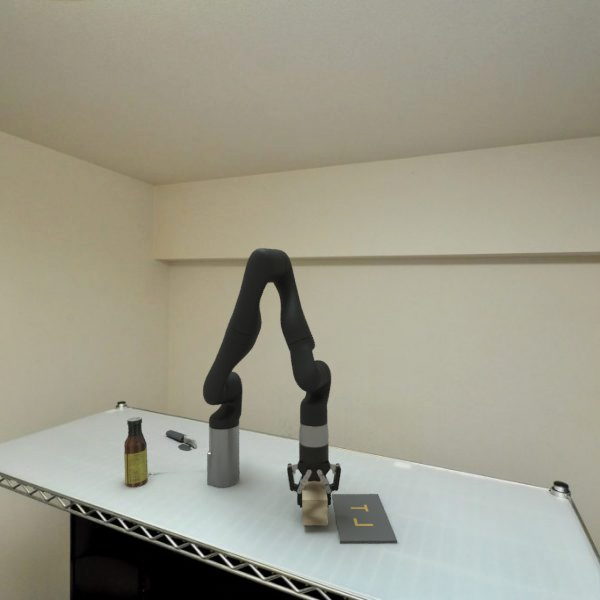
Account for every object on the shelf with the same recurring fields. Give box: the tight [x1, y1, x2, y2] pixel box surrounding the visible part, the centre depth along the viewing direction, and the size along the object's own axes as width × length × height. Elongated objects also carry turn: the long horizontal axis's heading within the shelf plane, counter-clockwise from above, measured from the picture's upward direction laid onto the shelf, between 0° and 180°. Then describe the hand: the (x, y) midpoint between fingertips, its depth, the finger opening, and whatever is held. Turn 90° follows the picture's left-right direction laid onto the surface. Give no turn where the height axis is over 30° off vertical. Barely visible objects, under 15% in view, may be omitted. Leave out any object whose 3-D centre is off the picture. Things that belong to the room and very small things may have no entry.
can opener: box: [165, 429, 198, 452], centre depth 137 cm, size 19×6×5 cm, turn 48°
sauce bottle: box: [123, 416, 149, 488], centre depth 109 cm, size 7×6×20 cm
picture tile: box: [331, 493, 398, 545], centre depth 92 cm, size 13×20×1 cm, turn 0°
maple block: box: [301, 481, 329, 526], centre depth 92 cm, size 6×12×6 cm, turn 0°
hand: (314, 505), depth 92 cm, fingers closed on maple block, 6 cm apart
